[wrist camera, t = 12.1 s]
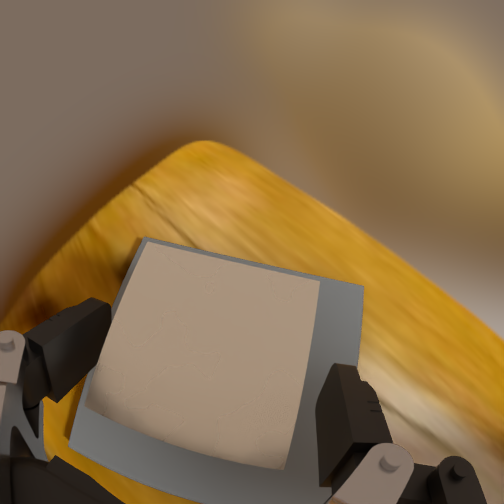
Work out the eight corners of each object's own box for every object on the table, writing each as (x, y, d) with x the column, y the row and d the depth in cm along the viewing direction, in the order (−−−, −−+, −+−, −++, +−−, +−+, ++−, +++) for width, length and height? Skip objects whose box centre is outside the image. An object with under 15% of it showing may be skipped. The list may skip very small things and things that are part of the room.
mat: (360, 289, 19) (378, 268, 16) (320, 515, 11) (337, 532, 8) (146, 241, 20) (135, 215, 18) (72, 445, 12) (46, 447, 9)
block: (281, 343, 16) (320, 281, 9) (259, 439, 13) (283, 470, 6) (184, 319, 17) (147, 241, 9) (156, 411, 14) (83, 406, 6)
